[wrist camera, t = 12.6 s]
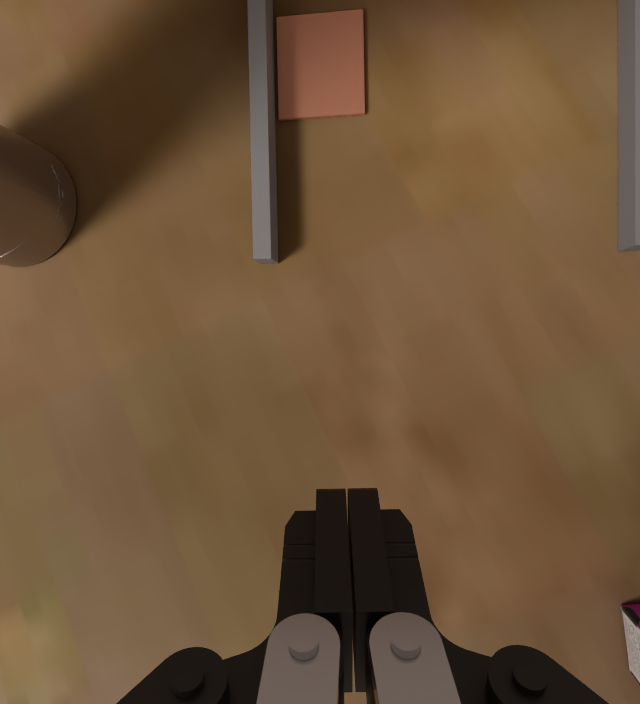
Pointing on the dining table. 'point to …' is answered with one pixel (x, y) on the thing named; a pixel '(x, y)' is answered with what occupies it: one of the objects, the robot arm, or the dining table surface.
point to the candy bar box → (632, 636)
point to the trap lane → (349, 100)
